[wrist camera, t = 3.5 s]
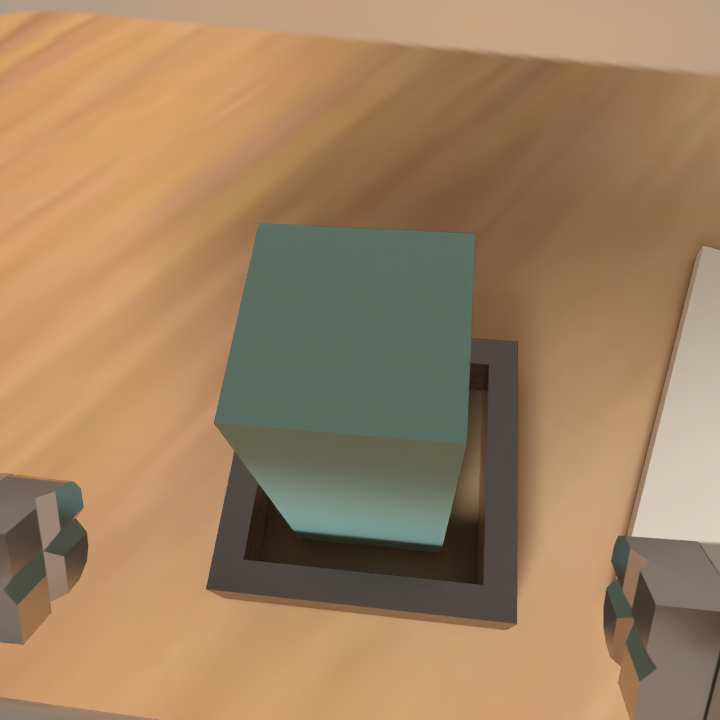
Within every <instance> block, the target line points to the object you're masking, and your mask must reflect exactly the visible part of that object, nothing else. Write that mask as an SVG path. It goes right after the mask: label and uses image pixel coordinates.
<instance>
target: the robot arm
mask: <svg viewBox="0 0 720 720" xmlns="http://www.w3.org/2000/svg"><path fill="white" fill-rule="evenodd" d="M83 508H84V505H83V499H82V493H81V488H80V487H79V486H78V485H77V484H76V483H75V482H73V481H65V480H56V479H48V478H40V477H31V476H23V475H13V474H8V473H0V642H2V643H12V644H22V645H24V644H25V642H26V641H27V640H28V639H29V638H30V637H31V636H32V634H33V633H34V632H35V631H36V630H37V629H38V628H39V626H40V625H41V624H42V623H43V622H44V621H45V620H46V618H47V617H48V616H49V615H50V614H51V604H50V601H53V600H55V599H57V598H59V597H61V596H63V595H65V594H67V593H69V592H70V590H71V589H72V588H73V587H74V586H75V584H76V583H77V582H78V581H79V579H80V577H81V574H82V572H83V569H84V567H85V564H86V562H87V553H88V539H87V532H86V531H85V529H84V528H83V527H82V526H81V524H80V523H79V522H78V521H77V519H76V518H77V517H78V515H79V514H80V512H81V511H82V509H83ZM611 562H612V564H613V567H614V570H615V572H616V575H617V579H616V580H615V581H614V582H612V583H611V584H610V585H609V586H608V587H607V588H606V595H605V602H604V634H605V640H606V645H607V648H608V651H609V655H610V657H611V658H612V659H613V660H614V661H615V662H616V663H617V664H619V665H620V666H621V670H620V675H619V681H618V684H619V687H620V690H621V693H622V696H623V699H624V702H625V705H626V709H627V712H628V715H629V718H630V720H720V543H719V542H702V541H687V540H673V539H660V538H646V537H632V536H618V538H617V540H616V543H615V545H614V549H613V555H612V560H611ZM0 720H157V719H150V718H143V717H136V716H129V715H122V714H115V713H108V712H101V711H94V710H86V709H79V708H72V707H65V706H58V705H51V704H44V703H37V702H30V701H23V700H16V699H9V698H2V697H0Z"/></svg>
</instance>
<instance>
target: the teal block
mask: <svg viewBox="0 0 720 720" xmlns="http://www.w3.org/2000/svg"><path fill="white" fill-rule="evenodd" d="M474 257H475V234H473V233H452V232H431V231H410V230H389V229H368V228H347V227H326V226H304V225H283V224H262V223H259V226H258V230H257V235H256V239H255V244H254V248H253V253H252V257H251V261H250V266H249V270H248V275H247V279H246V283H245V288H244V292H243V297H242V301H241V305H240V310H239V314H238V319H237V323H236V328H235V332H234V336H233V341H232V345H231V350H230V354H229V358H228V363H227V367H226V372H225V376H224V381H223V385H222V389H221V394H220V398H219V403H218V407H217V411H216V416H215V420H214V424H215V425H216V427H217V428H218V429H219V431H220V432H221V433H222V435H223V436H224V437H225V439H226V440H227V441H228V443H229V444H230V446H231V447H232V448H233V450H234V451H235V452H236V454H237V455H238V456H239V458H240V459H241V460H242V462H243V463H244V464H245V466H246V467H247V468H248V470H249V471H250V473H251V474H252V475H253V477H254V478H255V479H256V481H257V482H258V483H259V485H260V486H261V487H262V489H263V490H264V491H265V493H266V494H267V496H268V497H269V498H270V500H271V501H272V502H273V504H274V505H275V506H276V508H277V509H278V510H279V512H280V513H281V514H282V516H283V517H284V519H285V520H286V521H287V523H288V524H289V525H290V527H291V528H292V529H293V531H294V532H295V533H296V535H297V536H298V537H299V538H301V539H310V540H320V541H330V542H340V543H350V544H359V545H369V546H379V547H389V548H399V549H409V550H418V551H428V552H438V553H441V550H442V546H443V542H444V538H445V534H446V530H447V525H448V521H449V517H450V513H451V509H452V504H453V500H454V496H455V492H456V488H457V483H458V479H459V475H460V471H461V467H462V462H463V458H464V454H465V450H466V446H467V429H468V404H469V380H470V355H471V331H472V306H473V281H474Z"/></svg>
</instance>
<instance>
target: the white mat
mask: <svg viewBox="0 0 720 720" xmlns="http://www.w3.org/2000/svg"><path fill="white" fill-rule="evenodd" d="M626 536H632V537H646V538H660V539H673V540H687V541H702V542H719V543H720V250H718V249H714V248H710V247H707V246H703V247H702V249H701V250H700V252H699V253H698V255H697V256H696V260H695V264H694V268H693V272H692V276H691V280H690V284H689V288H688V291H687V295H686V299H685V303H684V307H683V311H682V315H681V319H680V323H679V327H678V331H677V335H676V339H675V343H674V347H673V351H672V355H671V359H670V363H669V367H668V371H667V375H666V379H665V383H664V387H663V391H662V395H661V399H660V403H659V407H658V411H657V415H656V419H655V423H654V427H653V431H652V435H651V439H650V443H649V447H648V451H647V455H646V459H645V463H644V467H643V471H642V475H641V479H640V483H639V487H638V491H637V495H636V499H635V503H634V507H633V511H632V515H631V519H630V523H629V527H628V531H627V535H626ZM616 579H617V575H616ZM616 579H615V580H616Z"/></svg>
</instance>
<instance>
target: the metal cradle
mask: <svg viewBox="0 0 720 720" xmlns="http://www.w3.org/2000/svg"><path fill="white" fill-rule="evenodd" d="M469 389H471V390H483V394H482V428H481V461H480V495H479V529H478V562H477V584H470V583H460V582H451V581H441V580H432V579H422V578H413V577H404V576H394V575H385V574H375V573H366V572H356V571H347V570H337V569H328V568H319V567H309V566H300V565H290V564H281V563H271V562H262V561H260V558H261V552H262V546H263V541H264V535H265V529H266V523H267V518H268V512H269V506H270V501H271V500H270V498H269V497H268V496H267V494H266V493H265V491H264V490H263V489H262V487H261V486H260V485H259V483H258V482H257V481H256V479H255V478H254V477H253V475H252V474H251V473H250V471H249V470H248V468H247V467H246V466H245V464H244V463H243V462H242V460H241V459H240V458H239V456H238V455H237V454H236V452H234V456H233V461H232V466H231V471H230V476H229V481H228V486H227V490H226V495H225V500H224V505H223V510H222V515H221V519H220V524H219V529H218V534H217V539H216V544H215V548H214V553H213V558H212V563H211V568H210V573H209V577H208V582H207V587H206V589H207V590H209V591H211V592H213V593H215V594H217V595H219V596H221V597H223V598H228V599H237V600H245V601H254V602H263V603H272V604H281V605H290V606H299V607H307V608H316V609H325V610H334V611H343V612H352V613H360V614H369V615H378V616H387V617H396V618H405V619H414V620H422V621H431V622H440V623H449V624H458V625H467V626H476V627H484V628H493V629H502V630H507V629H509V628H511V627H513V626H514V625H516V624H517V425H518V342H517V341H502V340H486V339H471V355H470V380H469Z"/></svg>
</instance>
